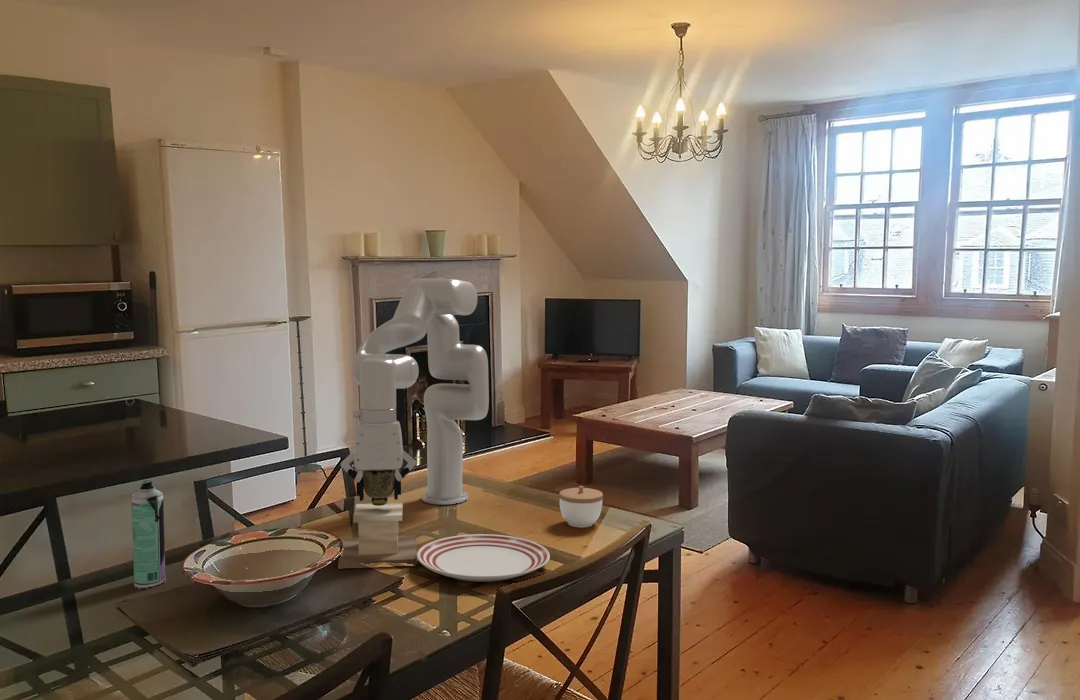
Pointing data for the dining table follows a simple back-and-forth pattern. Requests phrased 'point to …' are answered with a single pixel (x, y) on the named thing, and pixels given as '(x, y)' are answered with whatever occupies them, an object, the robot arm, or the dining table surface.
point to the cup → (379, 485)
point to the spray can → (148, 536)
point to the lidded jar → (580, 506)
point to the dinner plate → (483, 557)
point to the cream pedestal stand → (380, 536)
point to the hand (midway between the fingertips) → (378, 497)
